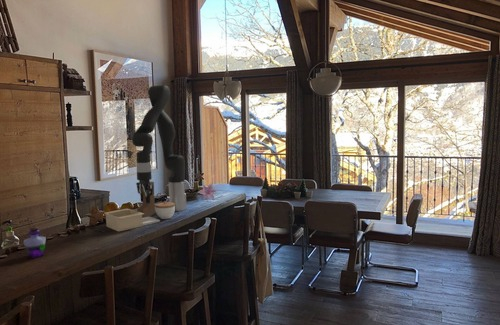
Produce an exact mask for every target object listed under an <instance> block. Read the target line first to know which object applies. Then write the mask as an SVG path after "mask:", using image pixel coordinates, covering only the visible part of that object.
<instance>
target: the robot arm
mask: <svg viewBox="0 0 500 325" xmlns="http://www.w3.org/2000/svg"><path fill="white" fill-rule="evenodd" d="M147 93H148V98H149V103H150V104H151V108H150V109H149V110H148V111H147V112H146V113H145V115H144V117H143V119H142V121H141V124H140V126H139V127H138V128H137V130H136V131H135V132H134V134H133V135H132V139H131V142H132V144H133V146H135V147H143V148H142V150H139V151H137V153H136V155H135V156H136V180H138V182H136V183H135V185H136V189H137V194H139V196H140V202H141V203H143V190H144V192H145V195H146V203H150V196H151V195H152V193H153V184H152V185H151V184H150V182H151V181H150V180H152V178H153V176H152V164H151V152H152V147H153V143H154V142H153V140H154V139H153V136H152V135H151V133H153V131H154V129H155V127H156V125H157V130H158V134H159V139H160V142H161V147H162V153H163V162H164V165H165V168H166V170H168V171H174V174H173V175H170V176H168V198H169V200H168V202H172V203H175V211H174V212H179V211H184V210H186V209H187V193H186V192H185V177H186V161H185V157H184V156H183V155H180V154H174V152H173V143H174V141H175V138H176V137H175V136H176V130H175V125H174V123H173V120H172V119H171V118H170V116H169V115H168V114H167V113H166V112H165V110H164V108H165V107H166V105H167V103H168V102H169V99H170V97H171V90H170V88H169V86H167V85H164V84H163V85H162V84H161V85H152V86H150V87H149V88H148V92H147ZM150 191H151V193H150Z"/></svg>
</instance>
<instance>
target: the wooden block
mask: <svg viewBox="0 0 500 325" xmlns="http://www.w3.org/2000/svg"><path fill="white" fill-rule="evenodd" d="M150 184H151V185H152V184H153V193H152V195H151V196H150V203H146V195H145V192H144V190H143V202H141V203H142V204H141V206H140V207H137V209H136V211H137V212H141V213H144V214H143V215H142V218H145V217H152V216H154V215H155V213H156V207H155V205H156V204H155V182H154V181H150ZM150 193H151V191H150Z"/></svg>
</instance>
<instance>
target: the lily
mask: <svg viewBox="0 0 500 325" xmlns="http://www.w3.org/2000/svg"><path fill="white" fill-rule="evenodd" d="M201 186H202V189H200V190H198V191H197V193H198V194H201V195H203V200H206V199H207V198H210V199H211V200H215V195H214V194H215V193H217V192H218V191H217V190H216V189H213V187H214V186H213V183H212V182H211V183H210V184H209V185H207V186H206V185H203V184H202V185H201Z"/></svg>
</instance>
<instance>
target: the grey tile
mask: <svg viewBox="0 0 500 325" xmlns="http://www.w3.org/2000/svg"><path fill="white" fill-rule="evenodd" d="M160 222H161V219H160V218H159V219H158V218H155V217H152V216H147V217H144V218H142V224H143V226H146V225H152V224H157V223H160Z"/></svg>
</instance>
